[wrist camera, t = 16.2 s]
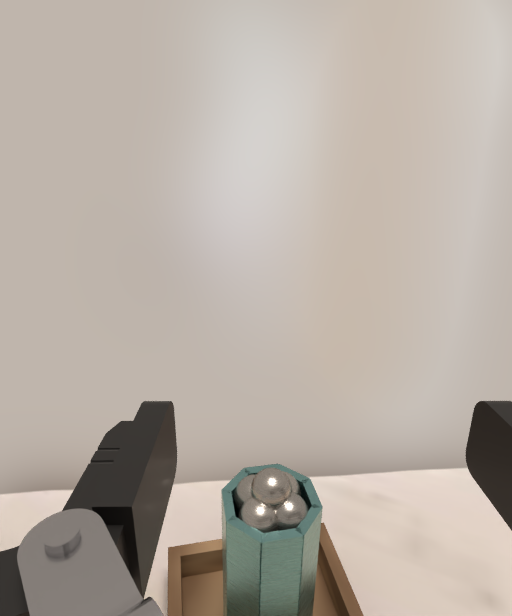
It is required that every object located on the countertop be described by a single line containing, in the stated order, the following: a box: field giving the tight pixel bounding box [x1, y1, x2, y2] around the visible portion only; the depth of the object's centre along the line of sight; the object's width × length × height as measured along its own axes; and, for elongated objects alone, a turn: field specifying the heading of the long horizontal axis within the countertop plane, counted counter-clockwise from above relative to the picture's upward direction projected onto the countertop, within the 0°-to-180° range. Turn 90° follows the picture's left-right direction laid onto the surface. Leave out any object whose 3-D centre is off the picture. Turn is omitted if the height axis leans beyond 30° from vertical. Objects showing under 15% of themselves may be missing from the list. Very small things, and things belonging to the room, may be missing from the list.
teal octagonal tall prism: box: [222, 464, 322, 616], centre depth 27 cm, size 6×6×16 cm
